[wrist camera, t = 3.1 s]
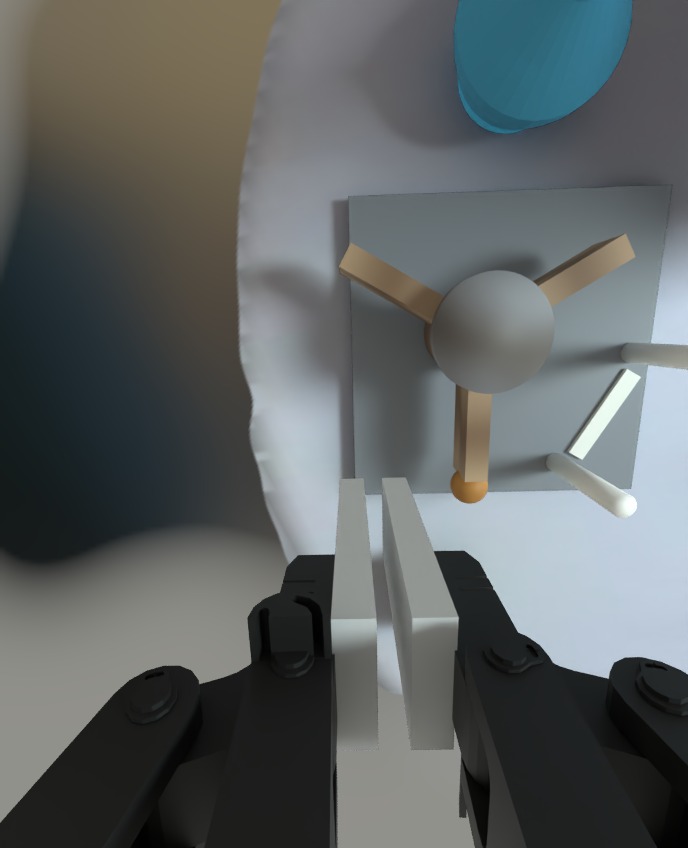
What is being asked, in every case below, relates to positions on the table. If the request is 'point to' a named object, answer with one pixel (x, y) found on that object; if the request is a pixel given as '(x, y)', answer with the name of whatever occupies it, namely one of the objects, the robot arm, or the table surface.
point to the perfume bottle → (535, 57)
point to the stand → (562, 370)
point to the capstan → (485, 335)
